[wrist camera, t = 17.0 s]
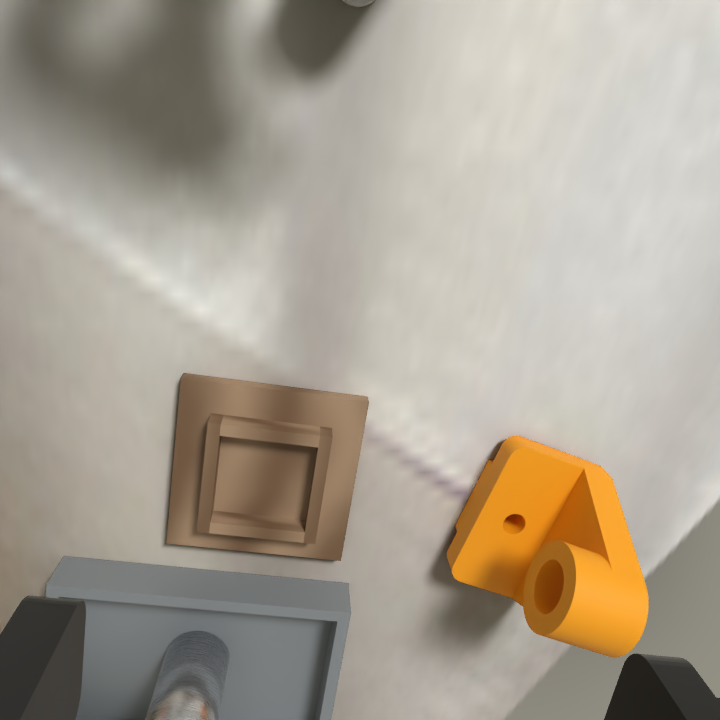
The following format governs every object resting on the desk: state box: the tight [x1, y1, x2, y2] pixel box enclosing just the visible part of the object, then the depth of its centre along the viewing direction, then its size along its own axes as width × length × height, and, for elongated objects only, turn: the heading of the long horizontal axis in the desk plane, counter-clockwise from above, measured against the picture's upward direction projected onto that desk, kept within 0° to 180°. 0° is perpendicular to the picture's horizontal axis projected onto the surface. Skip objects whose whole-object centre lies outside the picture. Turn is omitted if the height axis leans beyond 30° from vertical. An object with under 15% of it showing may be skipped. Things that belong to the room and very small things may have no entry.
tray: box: [46, 556, 351, 720], centre depth 47 cm, size 20×14×3 cm
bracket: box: [447, 436, 648, 657], centre depth 41 cm, size 11×7×12 cm
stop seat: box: [166, 373, 369, 561], centre depth 43 cm, size 12×12×2 cm
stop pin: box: [145, 631, 229, 720], centre depth 43 cm, size 5×5×10 cm
